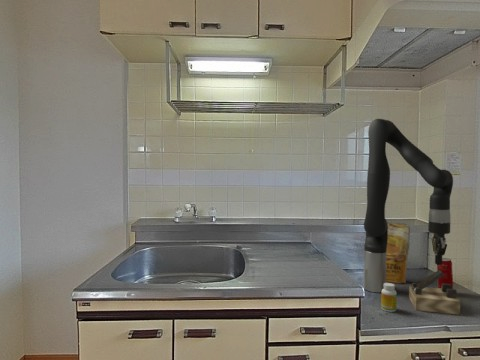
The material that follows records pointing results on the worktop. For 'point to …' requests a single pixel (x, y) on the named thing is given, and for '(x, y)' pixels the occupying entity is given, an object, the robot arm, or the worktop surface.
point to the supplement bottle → (388, 297)
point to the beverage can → (445, 273)
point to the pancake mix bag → (397, 252)
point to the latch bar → (429, 280)
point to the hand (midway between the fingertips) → (438, 264)
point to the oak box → (435, 299)
